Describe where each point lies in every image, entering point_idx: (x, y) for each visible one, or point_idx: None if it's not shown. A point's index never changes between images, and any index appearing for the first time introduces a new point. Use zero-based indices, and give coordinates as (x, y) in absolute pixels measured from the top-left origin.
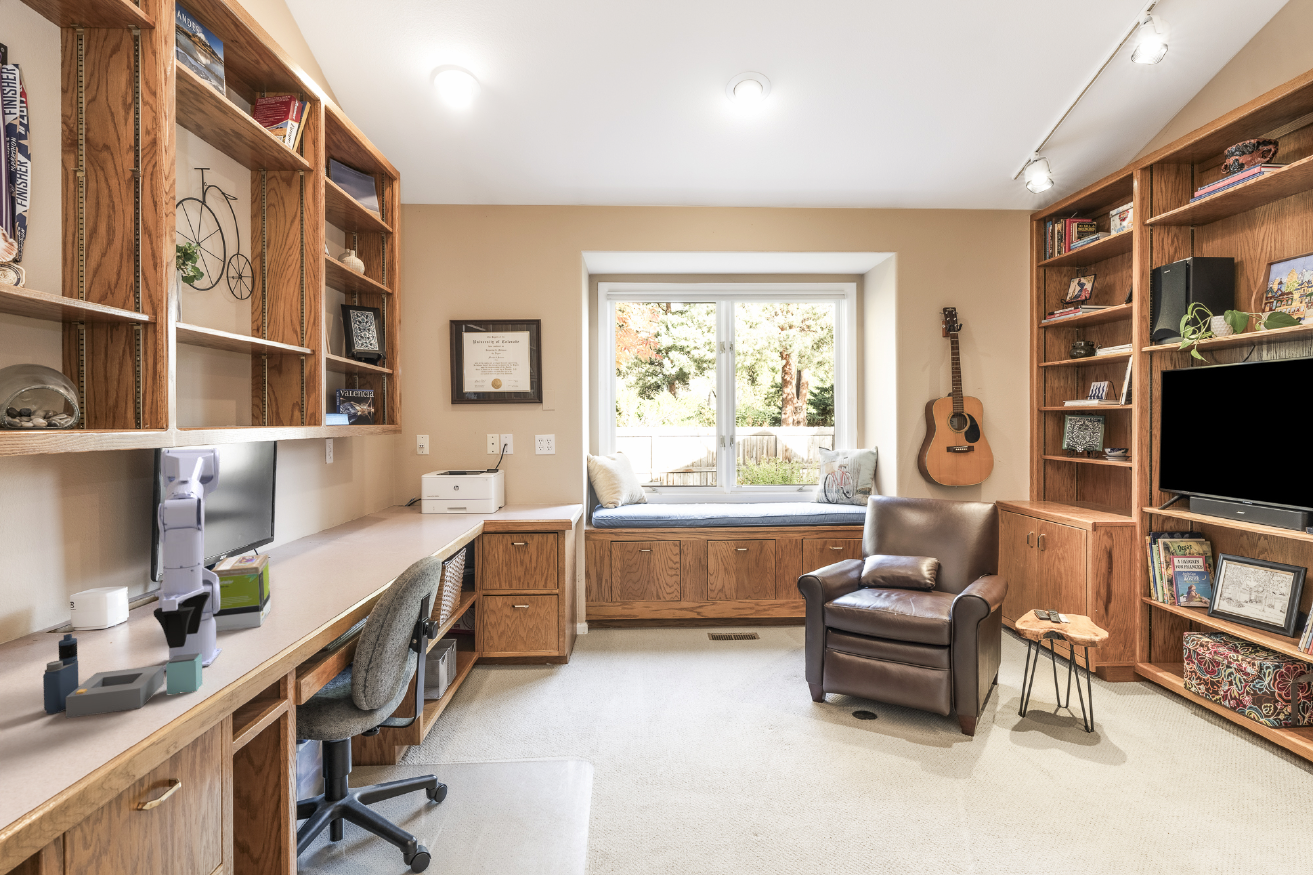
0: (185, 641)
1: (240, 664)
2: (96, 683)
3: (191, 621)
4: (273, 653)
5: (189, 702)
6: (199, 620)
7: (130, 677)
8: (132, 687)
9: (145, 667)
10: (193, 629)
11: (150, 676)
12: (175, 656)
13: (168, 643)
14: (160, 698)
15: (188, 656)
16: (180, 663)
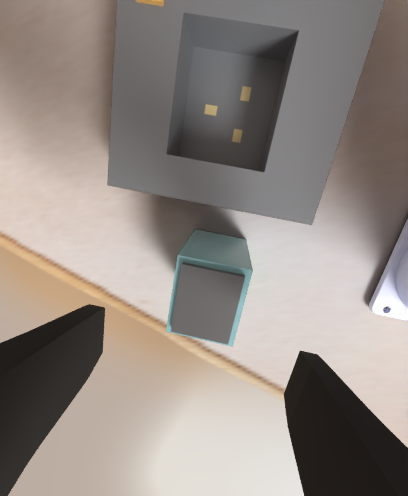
0: (88, 371)
1: (328, 365)
2: (236, 21)
3: (316, 446)
4: None
5: (120, 275)
6: (300, 479)
7: (272, 132)
8: (122, 162)
9: (325, 170)
10: (293, 404)
11: (206, 199)
12: (235, 280)
13: (70, 314)
14: (178, 217)
15: (208, 316)
16: (173, 291)
